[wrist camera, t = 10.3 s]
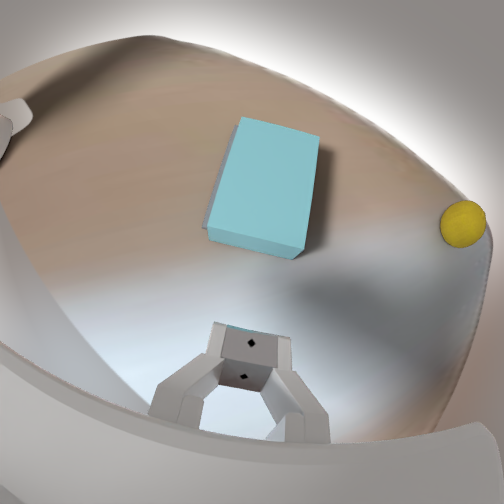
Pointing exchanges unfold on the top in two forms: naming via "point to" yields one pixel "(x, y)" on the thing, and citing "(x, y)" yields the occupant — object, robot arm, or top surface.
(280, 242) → the teal block
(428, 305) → the top surface
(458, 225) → the lemon
